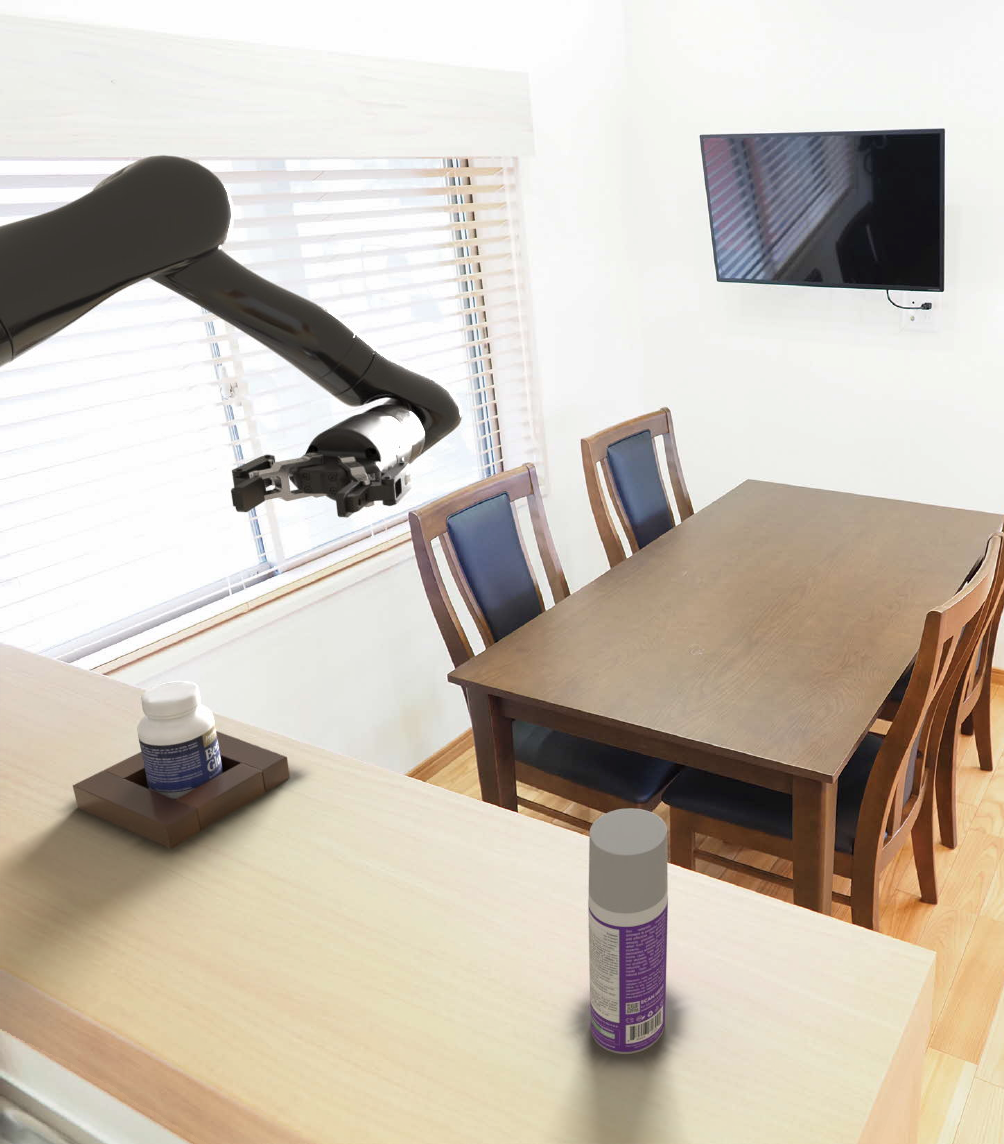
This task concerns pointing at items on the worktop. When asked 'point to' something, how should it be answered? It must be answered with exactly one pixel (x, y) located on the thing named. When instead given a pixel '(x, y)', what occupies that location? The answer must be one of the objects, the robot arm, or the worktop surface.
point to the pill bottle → (177, 739)
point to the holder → (174, 821)
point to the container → (627, 929)
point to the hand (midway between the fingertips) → (289, 503)
